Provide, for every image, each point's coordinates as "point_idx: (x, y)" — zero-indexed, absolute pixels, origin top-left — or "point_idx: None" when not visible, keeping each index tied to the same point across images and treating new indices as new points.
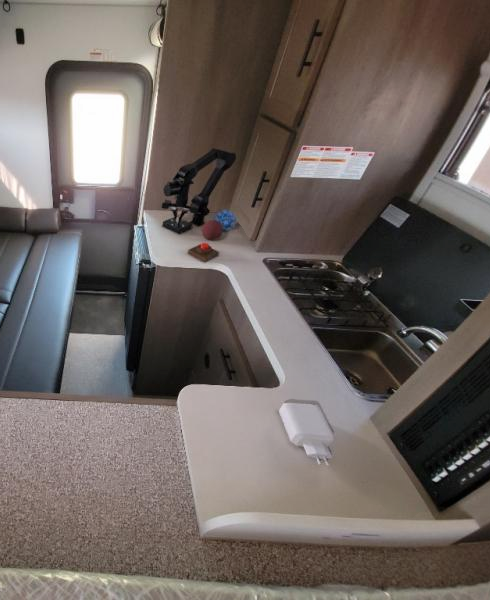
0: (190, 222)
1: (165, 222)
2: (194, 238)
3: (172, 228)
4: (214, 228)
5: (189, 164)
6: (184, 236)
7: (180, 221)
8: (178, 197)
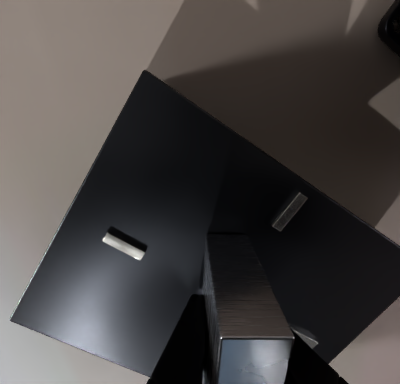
0: (390, 43)
1: (57, 339)
2: (380, 376)
3: None
4: None
5: None
6: None
7: (259, 243)
8: None
